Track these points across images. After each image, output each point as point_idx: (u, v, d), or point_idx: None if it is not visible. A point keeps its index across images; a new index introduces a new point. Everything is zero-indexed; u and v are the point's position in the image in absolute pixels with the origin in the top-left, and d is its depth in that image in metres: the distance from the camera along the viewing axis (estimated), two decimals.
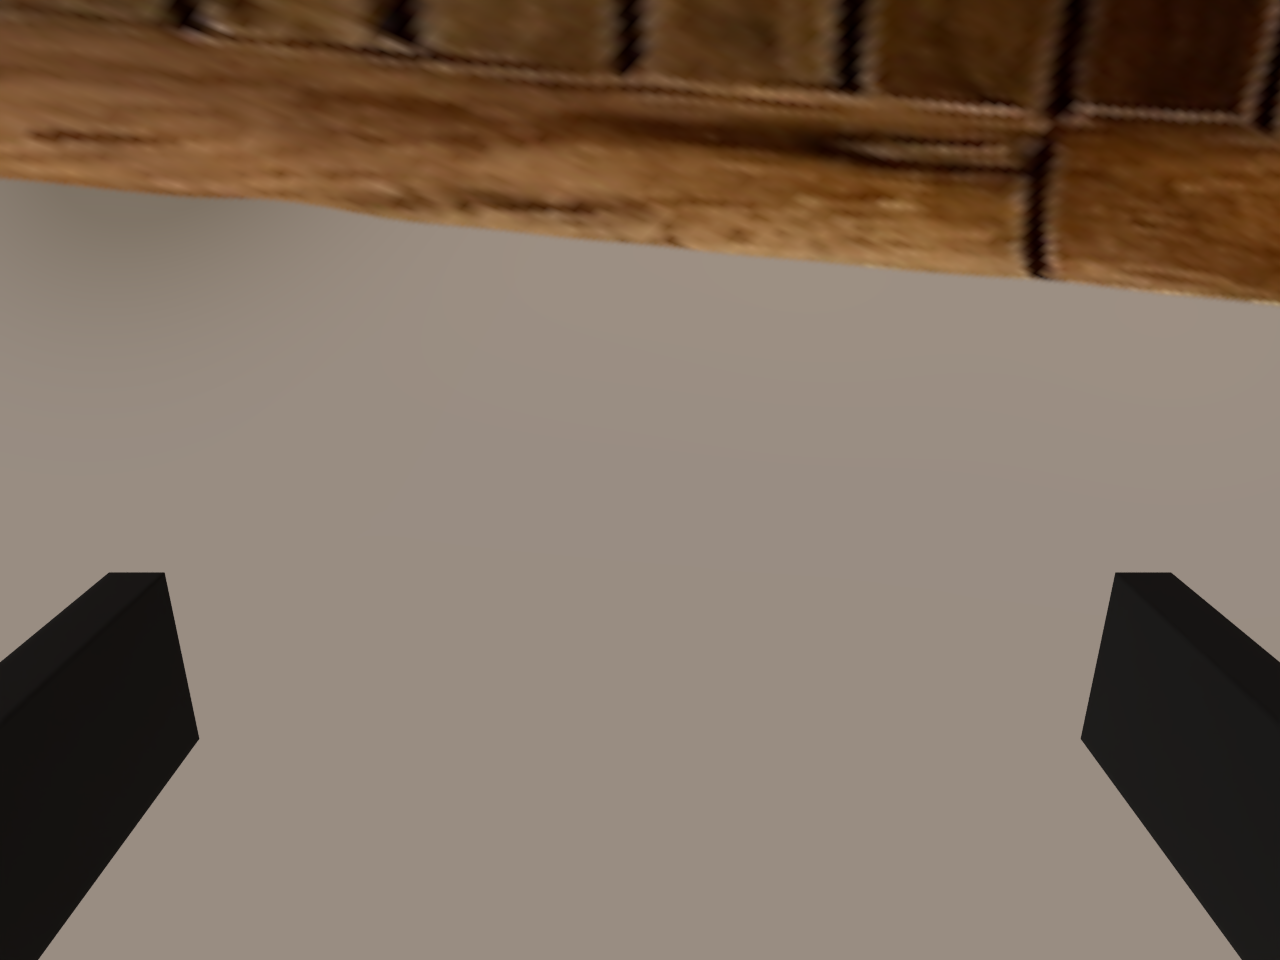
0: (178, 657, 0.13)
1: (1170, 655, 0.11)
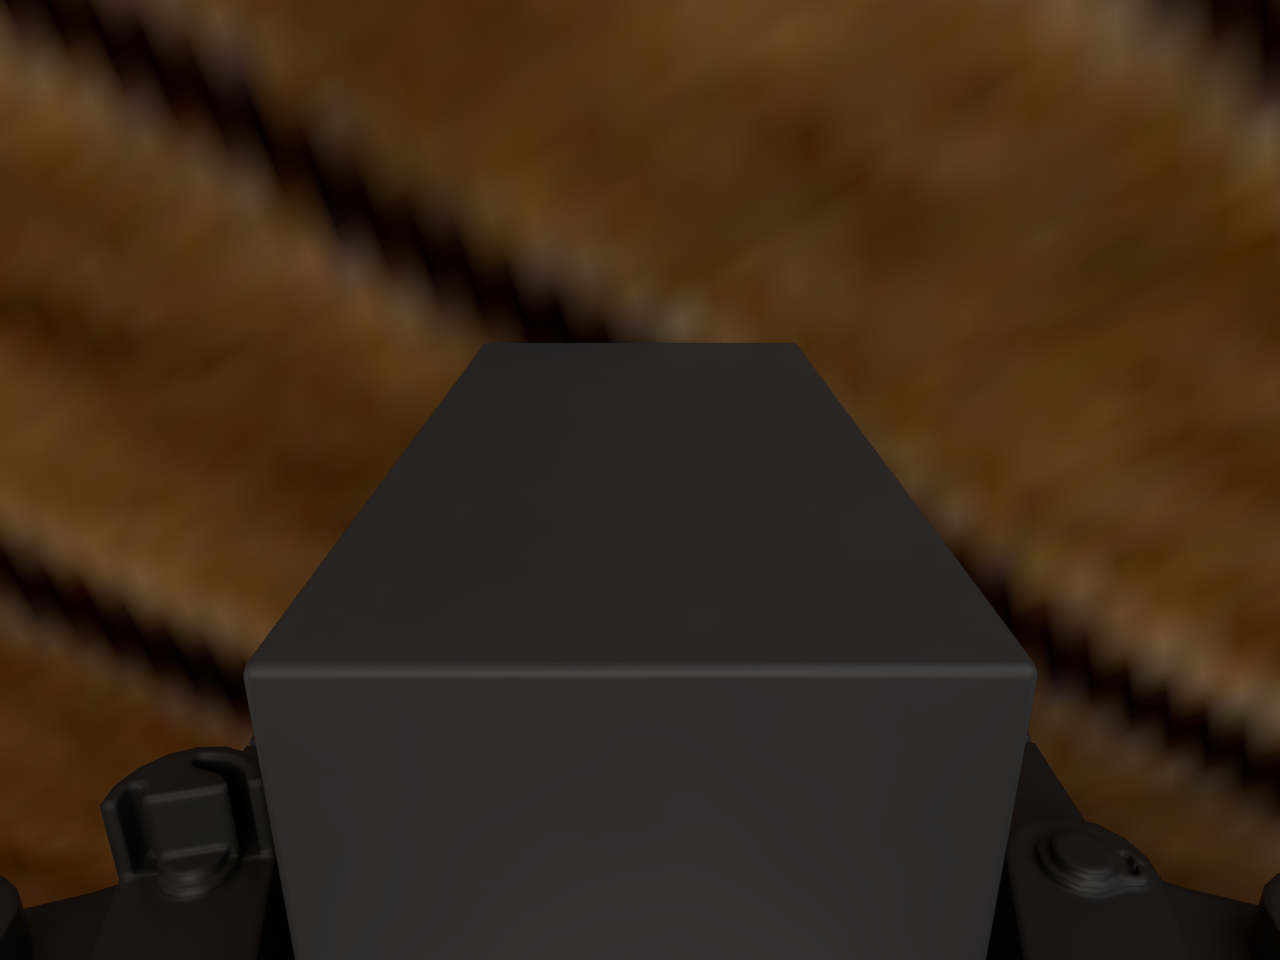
0: None
1: None
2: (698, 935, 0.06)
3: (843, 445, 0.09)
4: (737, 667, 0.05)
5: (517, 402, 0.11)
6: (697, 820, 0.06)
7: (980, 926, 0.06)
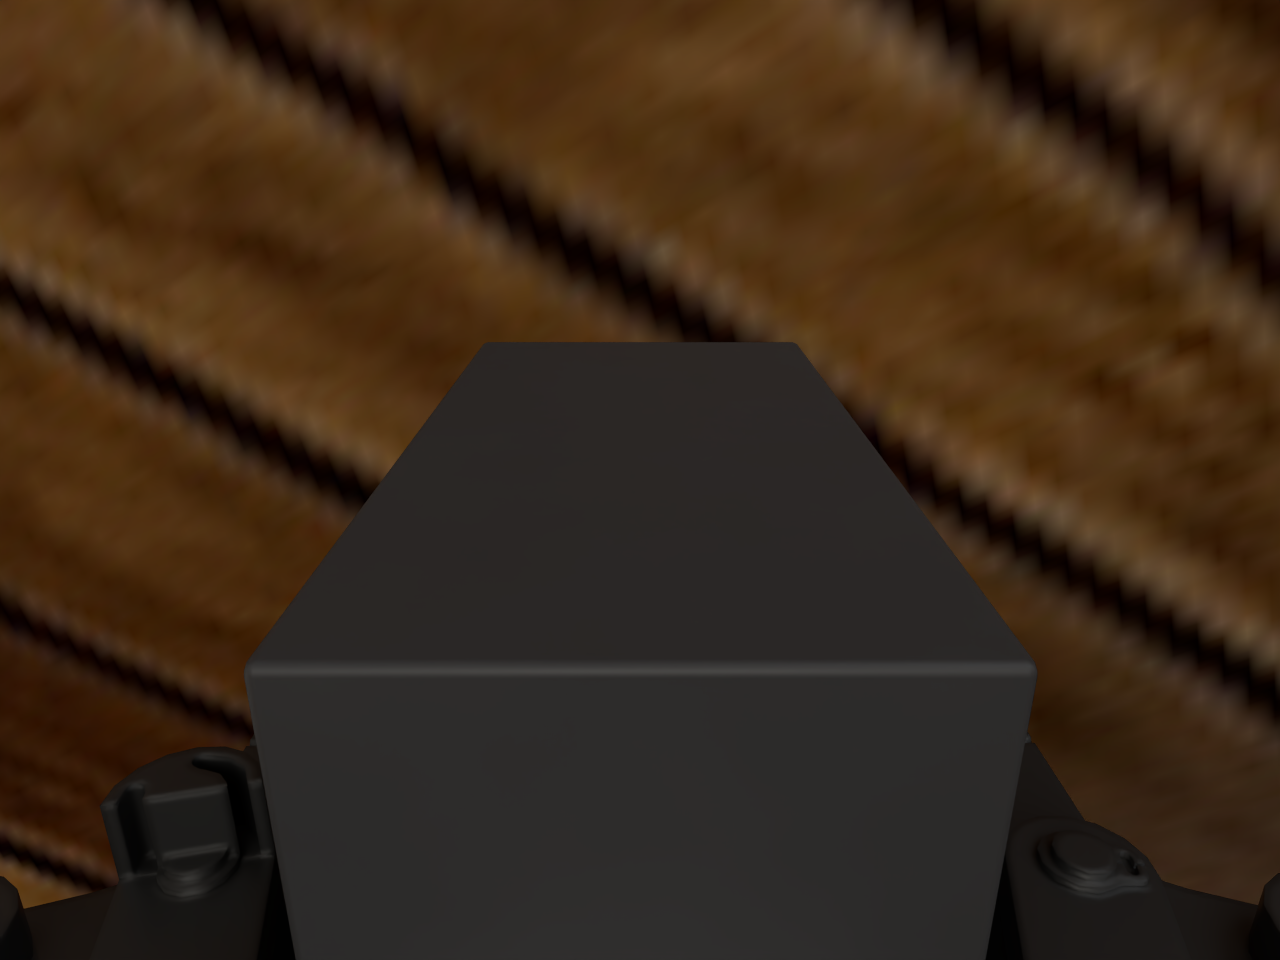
0: None
1: None
2: (696, 932, 0.06)
3: (843, 444, 0.09)
4: (738, 665, 0.05)
5: (517, 401, 0.11)
6: (697, 819, 0.06)
7: (980, 924, 0.06)
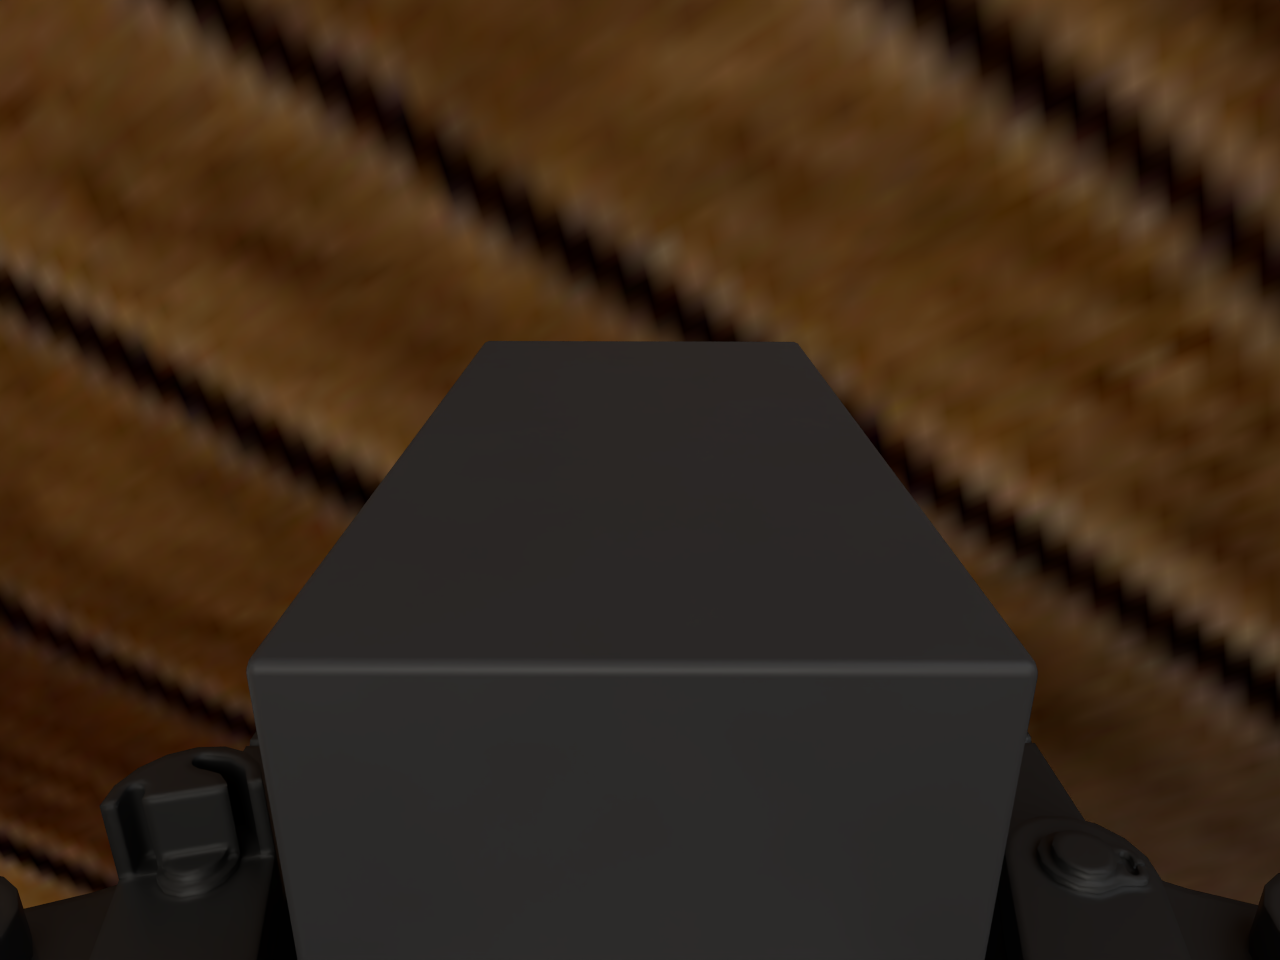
0: None
1: None
2: (698, 930, 0.06)
3: (844, 444, 0.09)
4: (739, 664, 0.05)
5: (519, 400, 0.11)
6: (698, 816, 0.06)
7: (979, 923, 0.06)
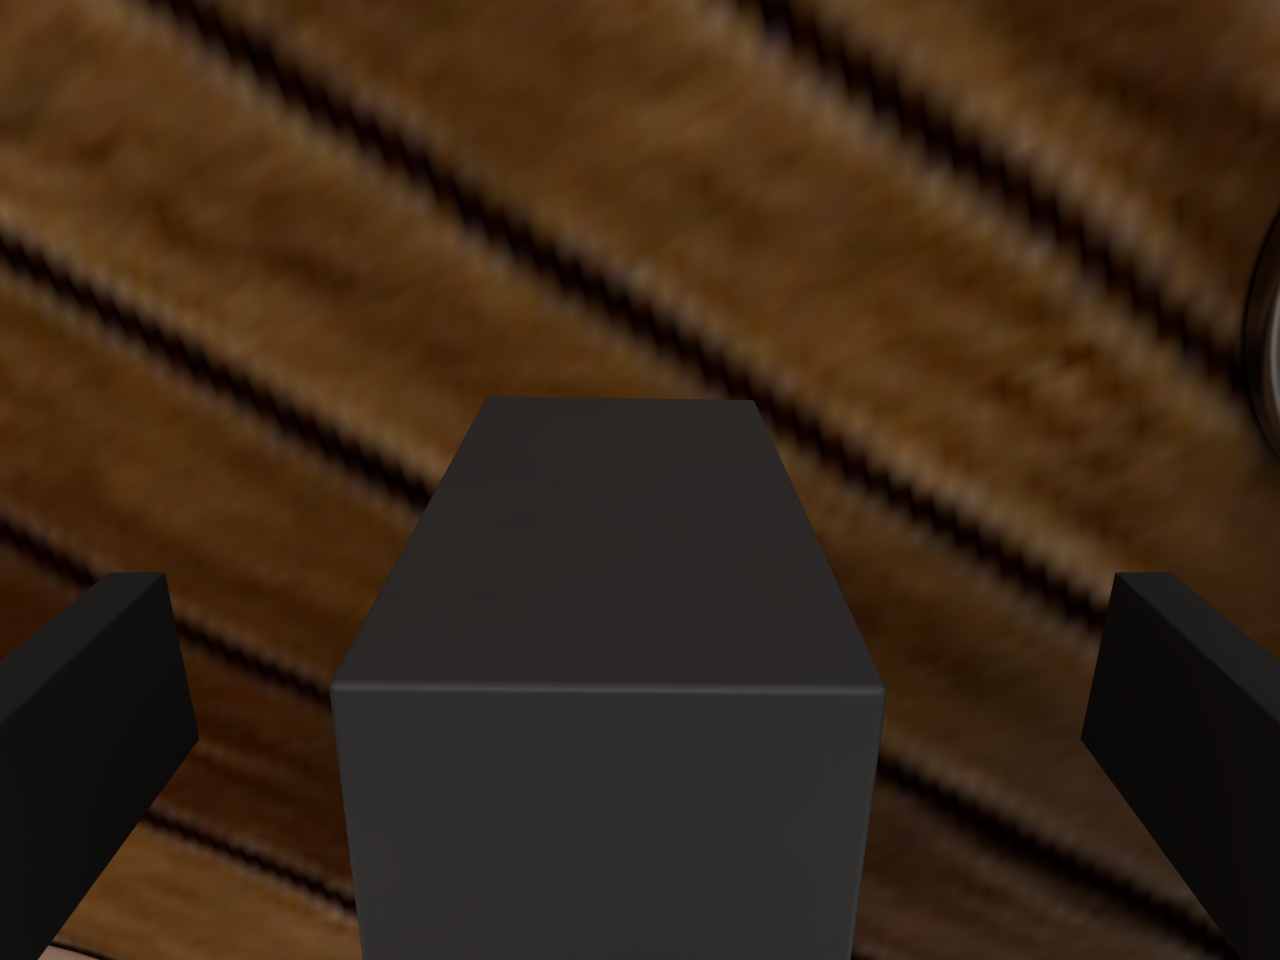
0: (179, 657, 0.13)
1: (1169, 655, 0.11)
2: (648, 878, 0.08)
3: (778, 504, 0.11)
4: (677, 686, 0.08)
5: (517, 458, 0.13)
6: (647, 793, 0.08)
7: (853, 873, 0.08)
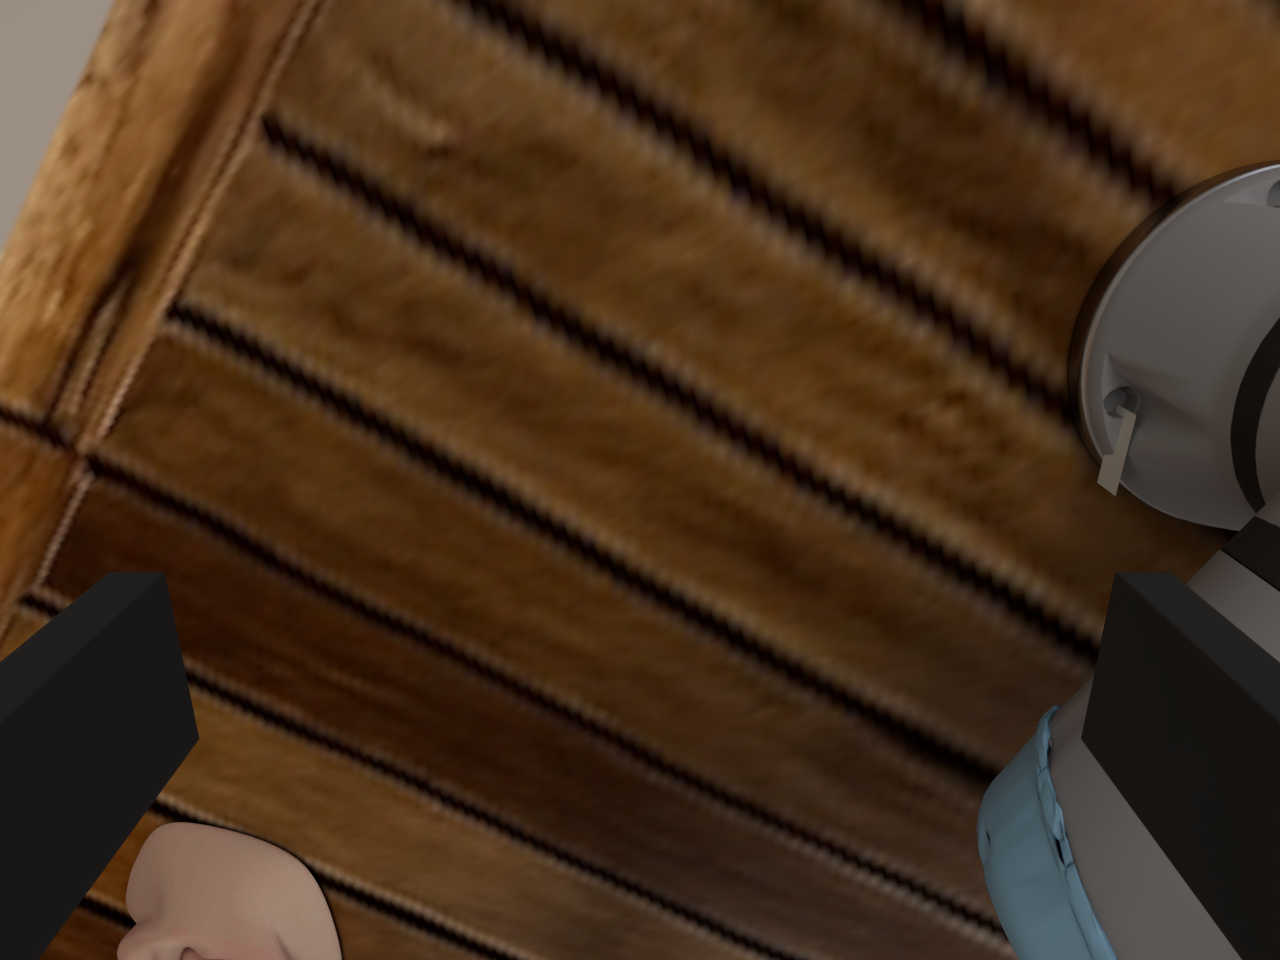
0: (178, 657, 0.13)
1: (1170, 655, 0.11)
2: None
3: None
4: None
5: None
6: None
7: None
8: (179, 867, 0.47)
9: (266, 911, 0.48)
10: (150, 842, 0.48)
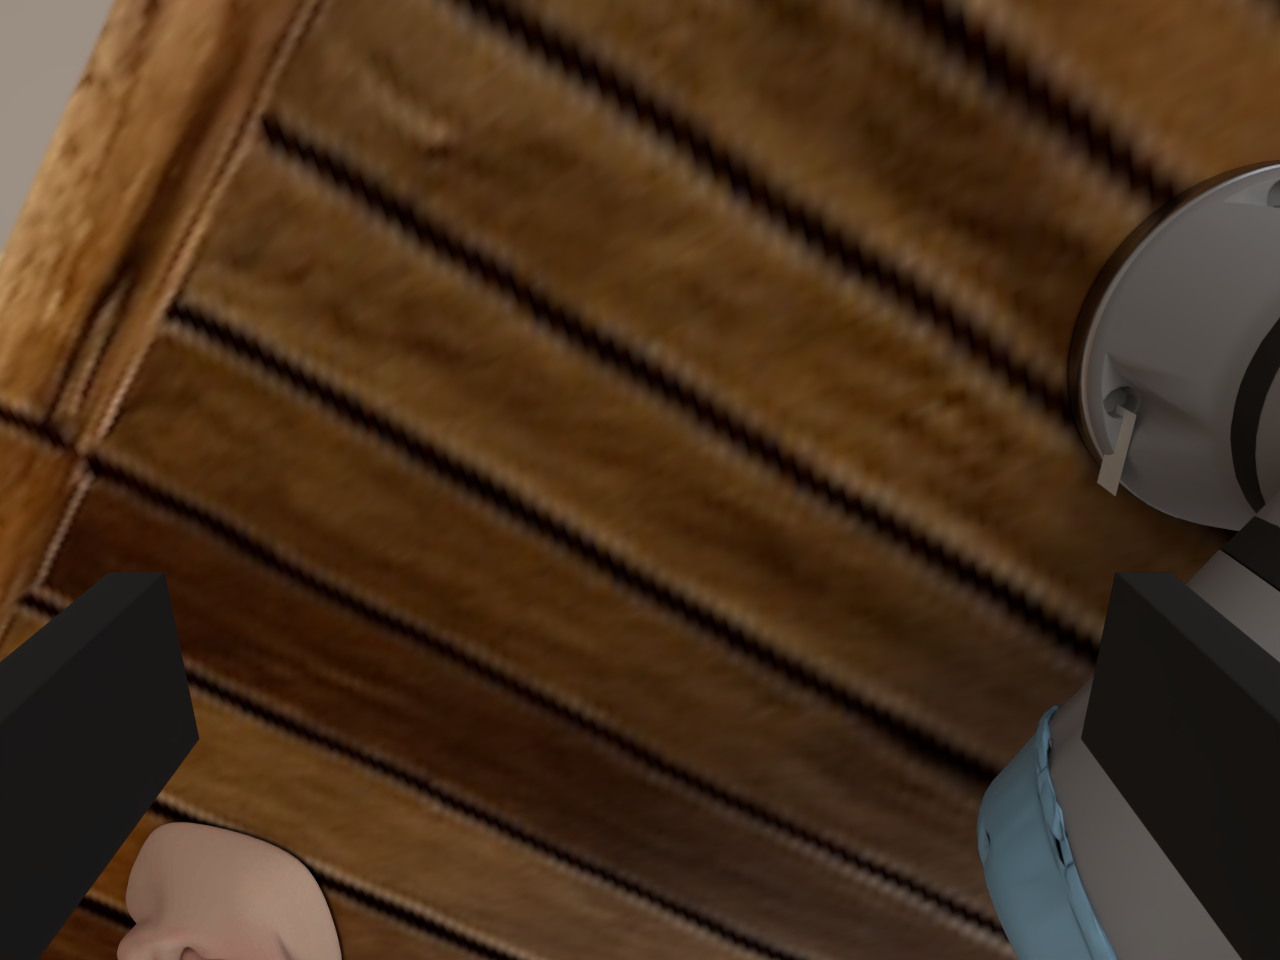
0: (178, 657, 0.13)
1: (1170, 655, 0.11)
2: None
3: None
4: None
5: None
6: None
7: None
8: (179, 867, 0.47)
9: (266, 911, 0.48)
10: (150, 842, 0.48)
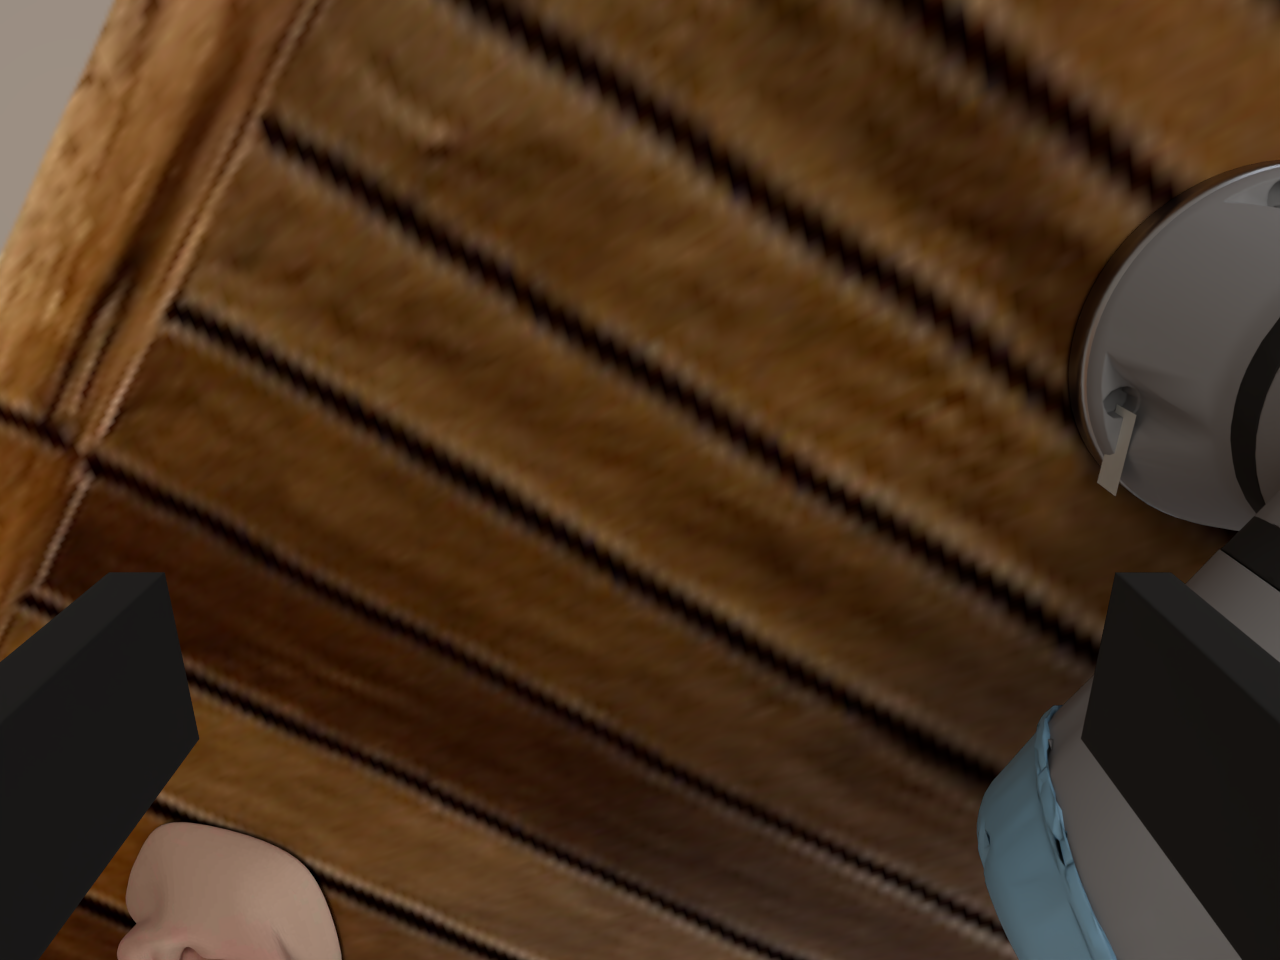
0: (178, 657, 0.13)
1: (1170, 655, 0.11)
2: None
3: None
4: None
5: None
6: None
7: None
8: (179, 867, 0.47)
9: (266, 911, 0.48)
10: (150, 842, 0.48)
